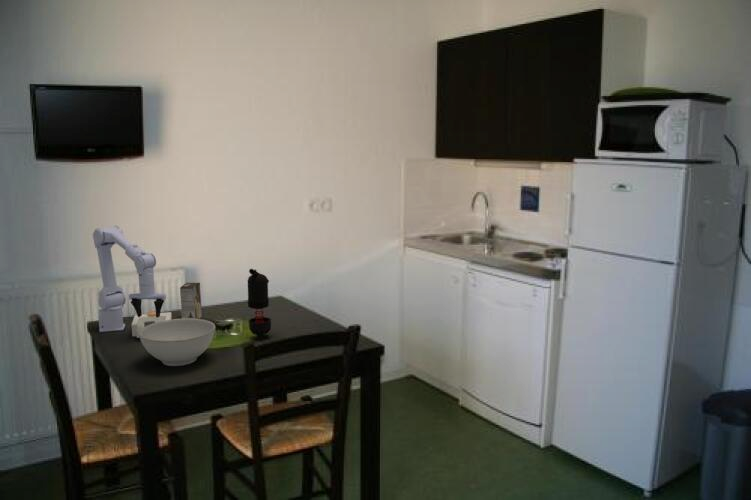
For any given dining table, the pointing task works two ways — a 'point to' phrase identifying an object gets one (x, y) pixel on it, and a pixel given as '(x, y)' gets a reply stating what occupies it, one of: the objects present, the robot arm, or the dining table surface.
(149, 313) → the brown egg
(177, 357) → the decorative bowl
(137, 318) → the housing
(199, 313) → the coffee box
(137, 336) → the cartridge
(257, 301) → the filter
